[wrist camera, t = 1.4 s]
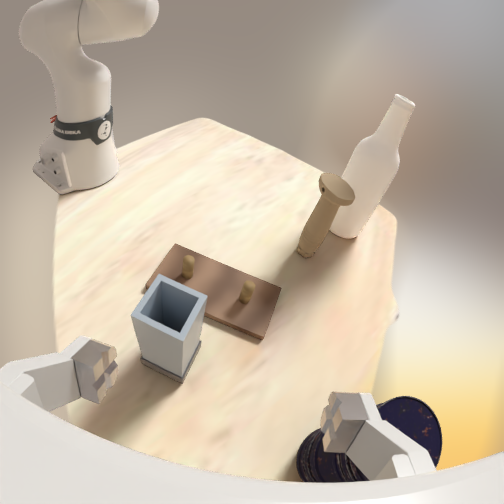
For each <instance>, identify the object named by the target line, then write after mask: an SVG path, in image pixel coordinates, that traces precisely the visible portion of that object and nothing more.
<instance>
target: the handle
mask: <svg viewBox="0 0 504 504" xmlns="http://www.w3.org/2000/svg"><path fill="white" fill-rule="evenodd" d="M319 188H320V192H321V194H322V195H321V198H320V199H319V201H318V203H317V205H316V207H315V209H314V210H313V212H312V214H311V216H310V217H309V219H308V221H307V223H306V225H305V227H304V229H303V232H302V234H301V237H300V241H299V244H298V249H297V252H298V253H299V254H301V255H302V256H303V257H305V258H306V257H312V256H313V255H314V253H315V251H316V250H317V249H318V248H319V246H320V245H321V244H322V242H323V241H324V239H325V237H326V235H327V233H328V231H329V229H330V227H331V225H332V222H333V220H334V218H335V216H336V214H337V211H338V209H339V207H340V206H349V205H351V204H352V203H353V201H354V199H355V194H354V191H353V189H352V188H351V187H350V185H349V184H348V183H347V182H346V181H345V180H343V179H342V178H341V177H339V176H338V175H335V174H331V173H323V174H321V176H320V179H319Z"/></svg>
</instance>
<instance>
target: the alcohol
mask: <svg viewBox="0 0 504 504" xmlns="http://www.w3.org/2000/svg"><path fill="white" fill-rule="evenodd" d="M394 96H395V98H394V100H392V104H391V106H390V108H389V109H388V111H387V113H386V115H385V117H384V118H383V120H382V122H381V123H380V125H379V127H378V129H377V130H376V132H375V133H374V134H373V135H372V136H369V137H367V138H364V139H363V140H361V141H360V143H359V144H358V145H357V146H356V147H355V150H354V152H353V154H352V156H351V158H350V160H349V162H348V165H347V167H346V169H345V171H344V173H343V175H342V177H341V178H342V179H343V180H345V181H346V182H347V183H348V184H349V185H350V187H351V188H352V189H353V191H354V194H355V199H354V201H353V203H352V204H351V205H349V206H340V207H339V209H338V211H337V214H336V216H335V218H334V220H333V222H332V225H331V227H330V229H329V230H330V231H331V232H332V233H334V234H335V235H337V236H339V237H342V238H346V239H350V238H354V237H356V236H358V235H359V234H360V233H361V231H362V229H363V228H364V226H365V225H366V223H367V222H368V220H369V218H370V217H371V215H372V213H373V212H374V210H375V209H376V207H377V205H378V204H379V202H380V200H381V199H382V197H383V195H384V194H385V192H386V190H387V189H388V187H389V185H390V183H391V182H392V180H393V178H394V176H395V175H396V173H397V170H398V167H399V164H400V159H399V154H398V146H399V143H400V140H401V138H402V136H403V133H404V131H405V128H406V126H407V123H408V121H409V118H410V115H411V114H412V113H413V109H414V108H415V104H414V103H413V102H412V101H409V100H408V99H407V98H405V97H403V96H401V95H398V94H396V95H394Z"/></svg>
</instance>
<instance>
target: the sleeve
mask: <svg viewBox="0 0 504 504" xmlns="http://www.w3.org/2000/svg"><path fill="white" fill-rule="evenodd" d="M206 302H207V295H205V294H203V293H200V292H198V291H196V290H194V289H191V288H189V287H187V286H185V285H182V284H180V283H178V282H176V281H174V280H172V279H169V278H167V277H165V276H163V275H161V274H158V276H157V277H156V278H155V280H154V281H153V283H152V284H151V286H150V287H149V289H148V290H147V292H146V293H145V295H144V296H143V298H142V299H141V301H140V302H139V303H138V305H137V307H136V308H135V310H134V311H133V313H132V314H131V318H132V322H133V326H134V329H135V333H136V336H137V340H138V343H139V347H140V350H141V353H142V357H141V361H142V364H144V365H146V366H148V367H150V368H152V369H154V370H156V371H157V372H159V373H161V374H163V375H166V376H168V377H170V378H172V379H174V380H176V381H178V382H180V383H182V384H183V382H184V380H185V378H186V376H187V374H188V372H189V369H190V367H191V365H192V363H193V361H194V359H195V357H196V355H197V353H198V351H199V349H200V347H201V341H200V335H201V330H202V324H203V318H204V313H205V307H206Z"/></svg>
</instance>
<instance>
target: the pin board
mask: <svg viewBox="0 0 504 504" xmlns="http://www.w3.org/2000/svg"><path fill="white" fill-rule="evenodd" d="M158 274H161V275H163V276H165V277H167V278H169V279H172V280H174V281H176V282H178V283H180V284H182V285H185V286H187V287H189V288H191V289H194V290H196V291H198V292H200V293H203V294H205V295H207V302H206V307H205V313H204V316H206V317H209V318H211V319H213V320H215V321H218V322H220V323H222V324H225V325H227V326H229V327H232V328H234V329H237V330H239V331H241V332H244V333H246V334H249V335H251V336H254V337H256V338H259V339H261V340H263V338H264V336H265V334H266V331H267V328H268V325H269V322H270V320H271V317H272V314H273V311H274V308H275V305H276V302H277V300H278V297H279V294H280V291H281V288H280V287H278V286H275V285H273V284H270V283H268V282H266V281H263V280H261V279H258V278H256V277H253V276H251V275H249V274H246V273H244V272H241V271H239V270H237V269H234V268H232V267H229V266H227V265H225V264H222V263H220V262H218V261H215V260H213V259H210V258H208V257H206V256H203V255H201V254H199V253H196V252H194V251H192V250H189V249H187V248H185V247H182V246H180V245H178V244H174V246H173V247H172V249H171V250H170V251H169V253H168V254H167V255H166V257H165V258H164V260H163V261H162V262H161V264H160V265H159V266H158V268H157V269H156V271H155V272H154V273H153V275H152V276H151V278H150V279H149V281H148V282H147V283H146V288H147V289H149V287H150V286H151V284H152V283H153V281H154V280H155V278H156V277H157V276H158Z"/></svg>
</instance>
